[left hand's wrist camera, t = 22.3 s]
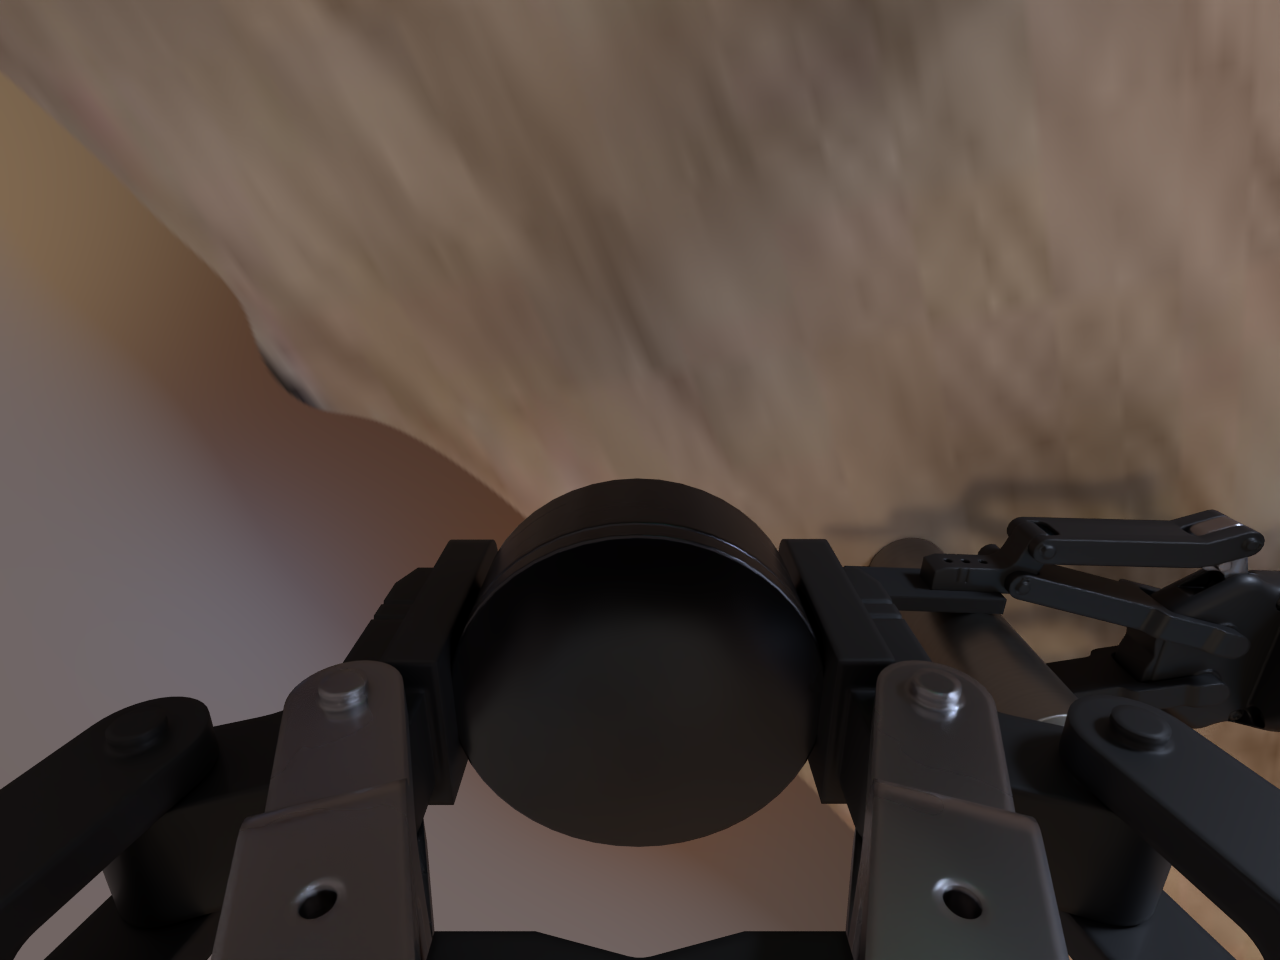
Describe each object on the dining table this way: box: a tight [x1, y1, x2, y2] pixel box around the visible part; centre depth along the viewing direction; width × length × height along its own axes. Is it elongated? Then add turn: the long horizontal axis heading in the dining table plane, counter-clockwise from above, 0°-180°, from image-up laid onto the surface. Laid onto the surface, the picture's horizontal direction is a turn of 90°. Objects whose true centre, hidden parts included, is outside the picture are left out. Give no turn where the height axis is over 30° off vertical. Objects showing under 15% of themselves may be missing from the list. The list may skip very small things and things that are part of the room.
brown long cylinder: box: [869, 538, 1078, 726], centre depth 32 cm, size 4×4×16 cm
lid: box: [451, 479, 824, 847], centre depth 10 cm, size 5×5×2 cm
